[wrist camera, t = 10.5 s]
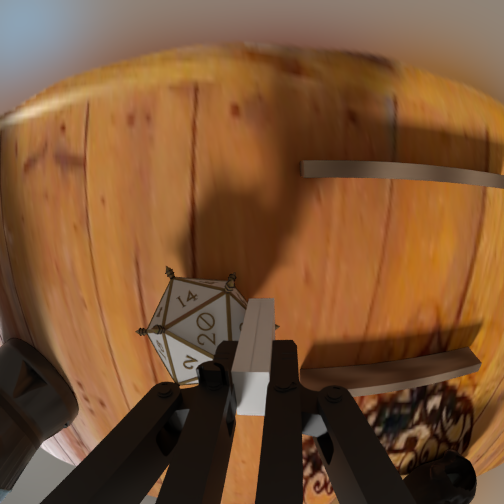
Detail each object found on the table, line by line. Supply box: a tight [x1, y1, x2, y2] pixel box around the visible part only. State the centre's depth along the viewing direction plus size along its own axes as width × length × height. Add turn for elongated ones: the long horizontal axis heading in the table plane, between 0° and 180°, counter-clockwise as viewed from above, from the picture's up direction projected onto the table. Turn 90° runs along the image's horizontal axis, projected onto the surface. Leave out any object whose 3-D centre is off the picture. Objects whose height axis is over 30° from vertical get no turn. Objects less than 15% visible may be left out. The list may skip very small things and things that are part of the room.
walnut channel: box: [300, 160, 504, 397], centre depth 18 cm, size 18×18×3 cm
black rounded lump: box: [403, 449, 477, 504], centre depth 25 cm, size 20×21×13 cm
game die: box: [135, 266, 280, 386], centre depth 18 cm, size 9×8×10 cm
